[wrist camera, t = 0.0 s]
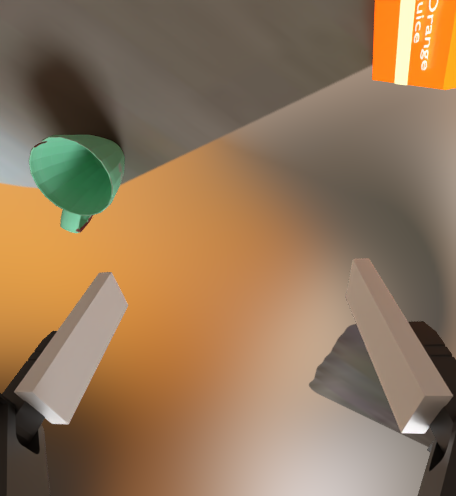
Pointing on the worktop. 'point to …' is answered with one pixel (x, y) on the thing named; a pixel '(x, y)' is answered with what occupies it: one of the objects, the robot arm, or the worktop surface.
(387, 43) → the orange juice
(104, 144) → the mug
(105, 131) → the worktop surface
